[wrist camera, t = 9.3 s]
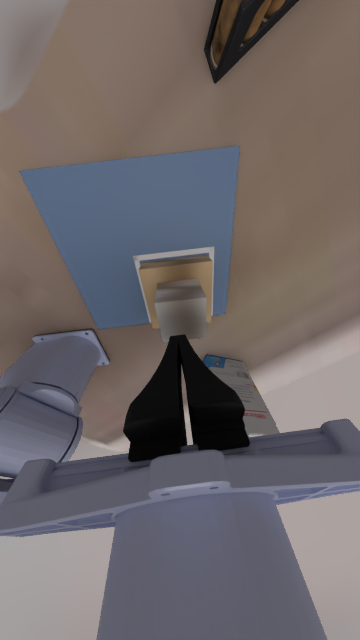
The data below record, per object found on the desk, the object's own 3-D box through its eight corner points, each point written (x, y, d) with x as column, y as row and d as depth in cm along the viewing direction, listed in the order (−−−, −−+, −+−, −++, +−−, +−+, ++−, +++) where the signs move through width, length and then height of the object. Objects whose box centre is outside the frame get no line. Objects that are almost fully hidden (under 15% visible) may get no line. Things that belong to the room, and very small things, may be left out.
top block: (163, 316, 20) (162, 342, 16) (157, 283, 17) (154, 303, 13) (198, 312, 20) (206, 336, 16) (196, 278, 17) (206, 297, 13)
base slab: (154, 317, 23) (153, 328, 21) (142, 262, 19) (138, 269, 16) (206, 310, 23) (211, 321, 21) (206, 255, 19) (212, 260, 16)
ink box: (196, 370, 32) (215, 465, 20) (206, 353, 29) (234, 451, 17) (232, 375, 34) (269, 465, 22) (243, 360, 31) (293, 452, 19)
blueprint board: (99, 327, 24) (98, 329, 24) (23, 172, 14) (18, 170, 14) (224, 312, 24) (225, 314, 24) (237, 147, 14) (240, 145, 14)
